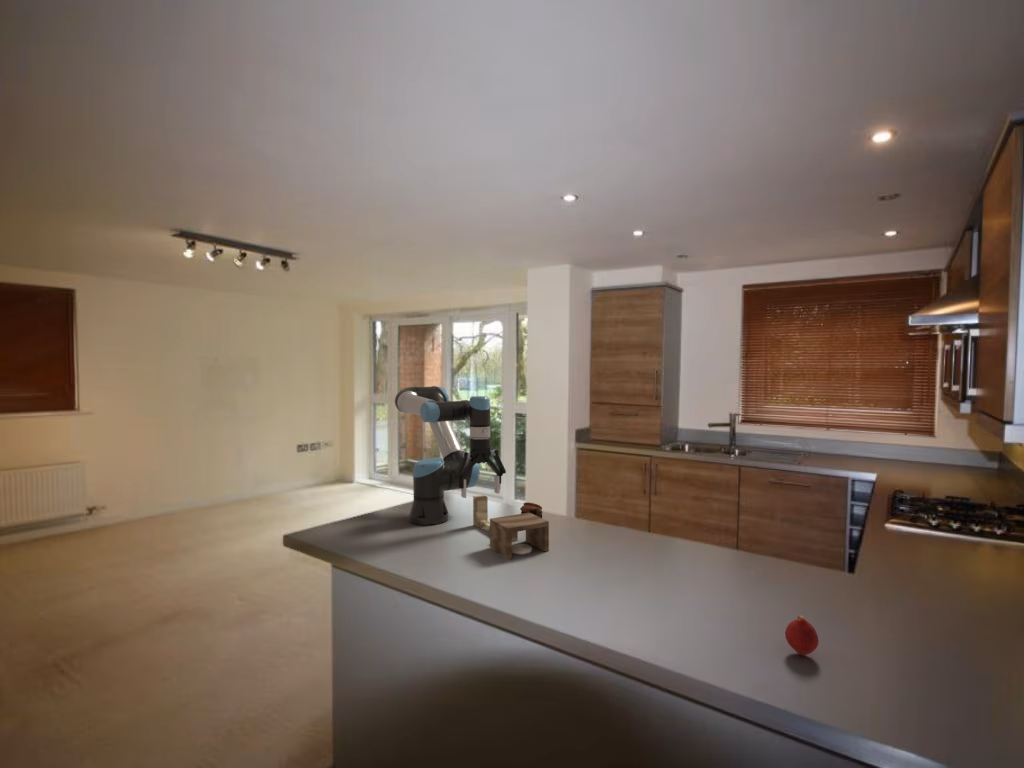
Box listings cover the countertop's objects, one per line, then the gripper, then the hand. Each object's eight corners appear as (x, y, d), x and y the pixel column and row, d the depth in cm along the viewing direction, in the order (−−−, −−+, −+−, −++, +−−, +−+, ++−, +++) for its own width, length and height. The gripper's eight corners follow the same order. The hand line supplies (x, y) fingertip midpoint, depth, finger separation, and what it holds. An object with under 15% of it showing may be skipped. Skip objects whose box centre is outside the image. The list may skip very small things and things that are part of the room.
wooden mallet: (468, 526, 193) (468, 496, 192) (487, 522, 196) (487, 494, 196) (496, 544, 172) (496, 511, 172) (517, 540, 176) (517, 508, 176)
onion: (807, 647, 108) (807, 609, 108) (824, 662, 102) (825, 622, 102) (779, 647, 108) (780, 609, 107) (795, 663, 102) (796, 623, 102)
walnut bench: (490, 547, 169) (489, 518, 169) (529, 540, 176) (529, 512, 176) (507, 559, 158) (507, 528, 158) (548, 550, 166) (548, 521, 166)
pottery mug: (512, 522, 199) (517, 501, 203) (531, 530, 203) (536, 509, 206) (529, 521, 189) (534, 499, 193) (549, 529, 193) (554, 508, 197)
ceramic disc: (505, 549, 168) (505, 546, 168) (524, 546, 171) (524, 542, 171) (516, 556, 162) (516, 552, 162) (535, 552, 165) (535, 549, 165)
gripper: (452, 441, 182) (453, 501, 183) (514, 436, 195) (514, 493, 195) (444, 439, 189) (445, 497, 189) (505, 434, 201) (505, 489, 201)
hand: (480, 495), depth 192 cm, fingers open, 13 cm apart
